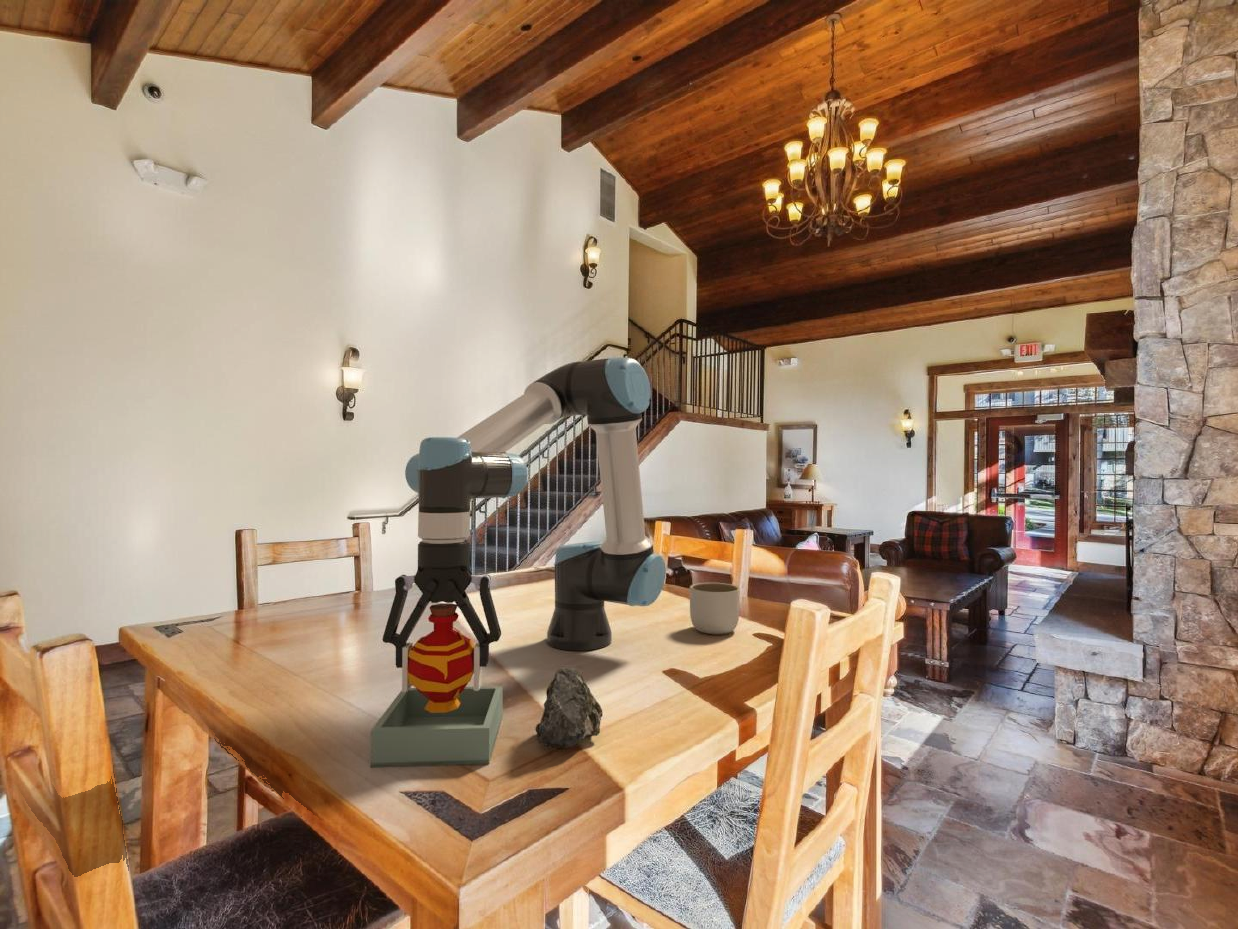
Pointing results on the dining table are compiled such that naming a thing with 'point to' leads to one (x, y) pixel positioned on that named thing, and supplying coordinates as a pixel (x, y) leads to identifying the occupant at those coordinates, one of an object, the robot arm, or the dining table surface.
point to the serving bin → (438, 730)
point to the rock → (568, 711)
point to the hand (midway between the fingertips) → (442, 688)
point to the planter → (714, 607)
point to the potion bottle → (441, 661)
